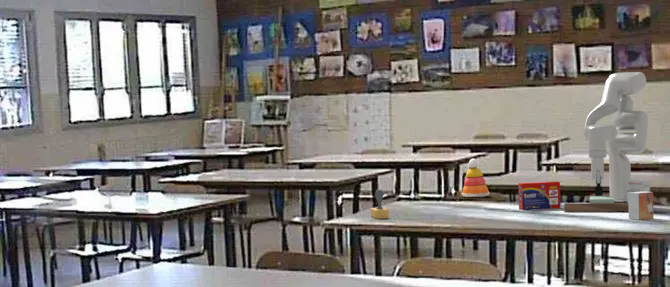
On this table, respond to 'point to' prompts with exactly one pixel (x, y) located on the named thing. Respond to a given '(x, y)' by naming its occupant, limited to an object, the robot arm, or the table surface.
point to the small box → (640, 205)
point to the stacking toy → (474, 182)
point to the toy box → (539, 195)
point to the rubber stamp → (379, 207)
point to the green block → (602, 199)
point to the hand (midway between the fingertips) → (598, 195)
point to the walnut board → (595, 207)
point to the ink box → (637, 186)
